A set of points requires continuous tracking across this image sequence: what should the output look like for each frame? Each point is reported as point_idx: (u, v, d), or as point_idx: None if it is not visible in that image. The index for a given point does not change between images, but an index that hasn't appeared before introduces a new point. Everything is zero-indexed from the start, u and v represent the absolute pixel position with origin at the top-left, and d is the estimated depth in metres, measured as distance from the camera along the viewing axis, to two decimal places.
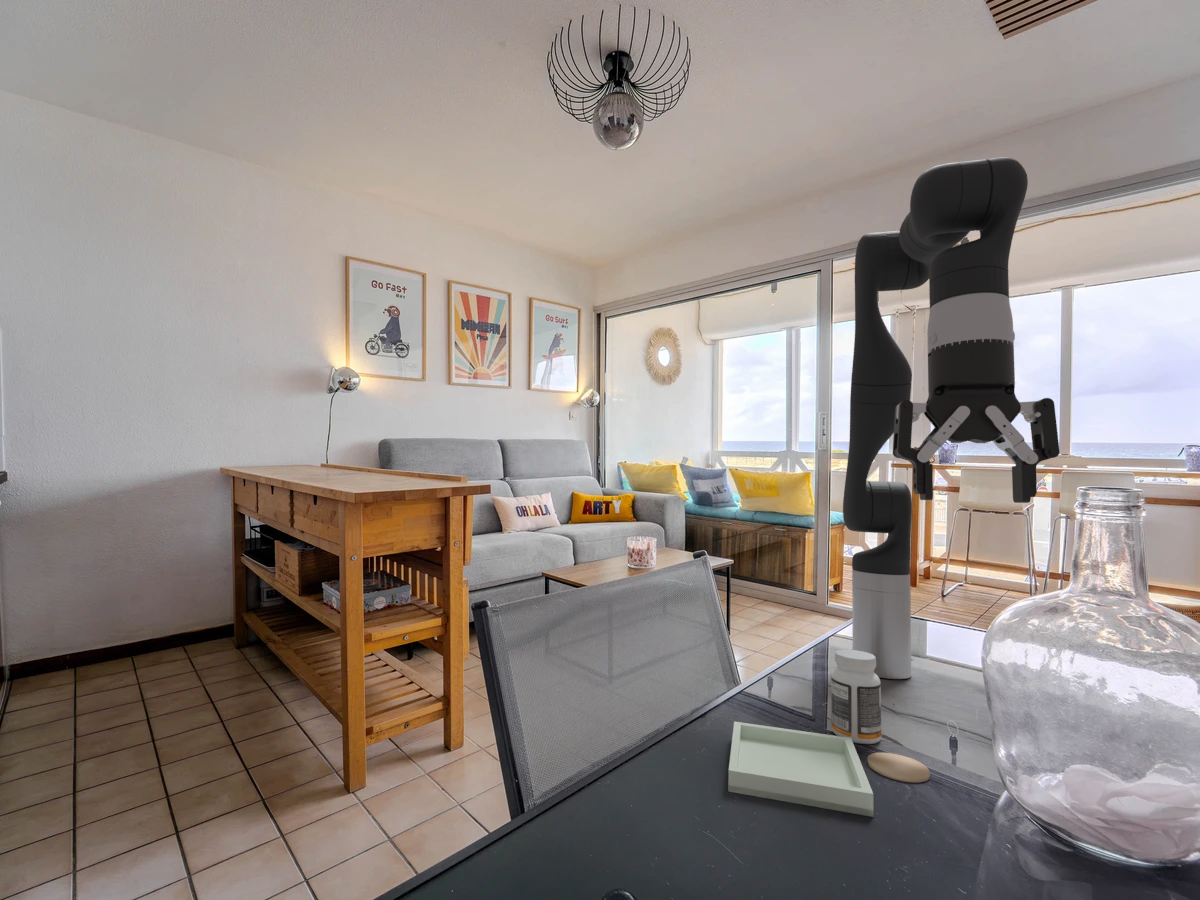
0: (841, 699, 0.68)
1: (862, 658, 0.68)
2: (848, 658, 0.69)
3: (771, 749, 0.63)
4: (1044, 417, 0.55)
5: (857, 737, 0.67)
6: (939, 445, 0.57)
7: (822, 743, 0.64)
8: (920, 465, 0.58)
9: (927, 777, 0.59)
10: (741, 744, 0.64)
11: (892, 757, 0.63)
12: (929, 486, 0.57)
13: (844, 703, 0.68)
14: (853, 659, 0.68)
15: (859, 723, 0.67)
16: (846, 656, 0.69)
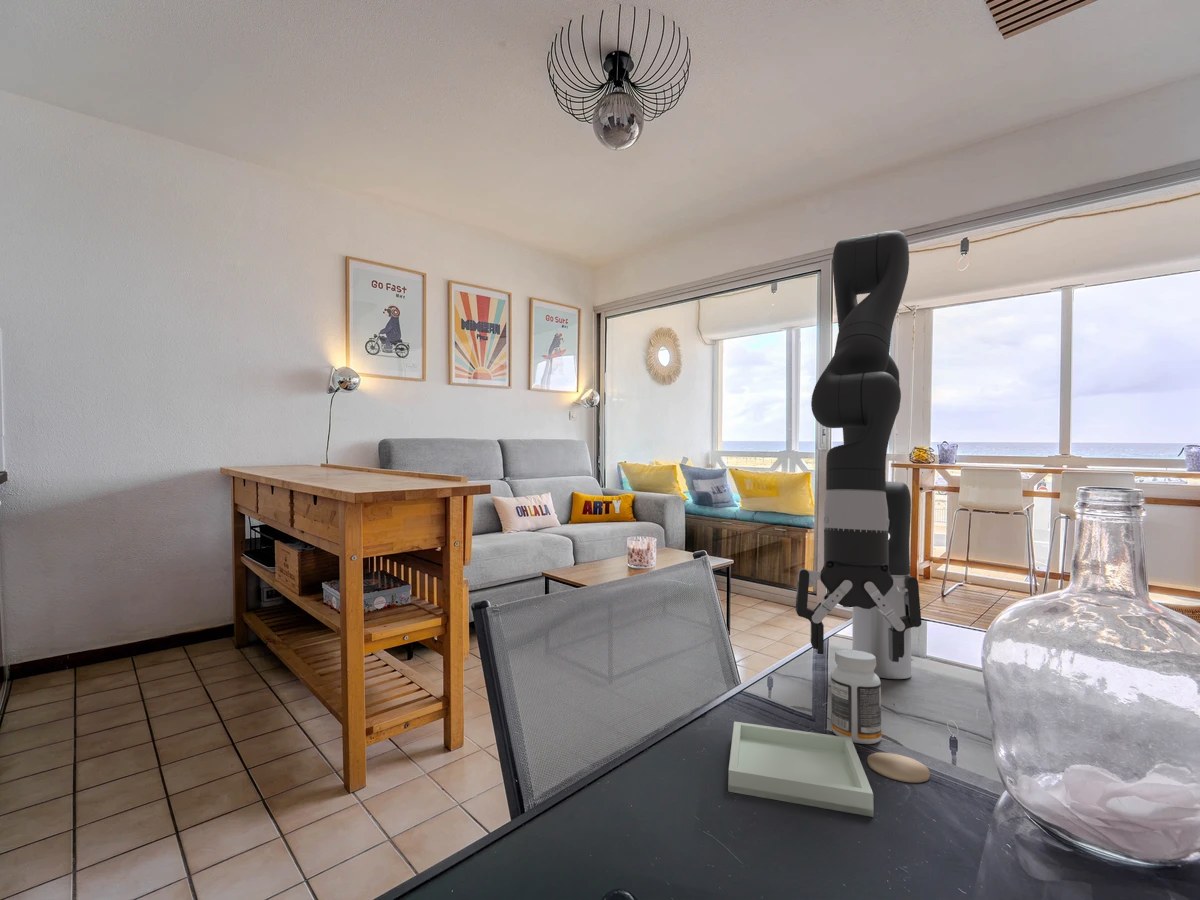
0: (841, 699, 0.68)
1: (862, 658, 0.68)
2: (848, 658, 0.69)
3: (771, 749, 0.63)
4: (910, 593, 0.68)
5: (857, 737, 0.67)
6: (828, 610, 0.70)
7: (822, 743, 0.64)
8: (814, 624, 0.71)
9: (927, 777, 0.59)
10: (741, 744, 0.64)
11: (892, 757, 0.63)
12: (820, 643, 0.70)
13: (844, 703, 0.68)
14: (853, 659, 0.68)
15: (859, 723, 0.67)
16: (846, 656, 0.69)
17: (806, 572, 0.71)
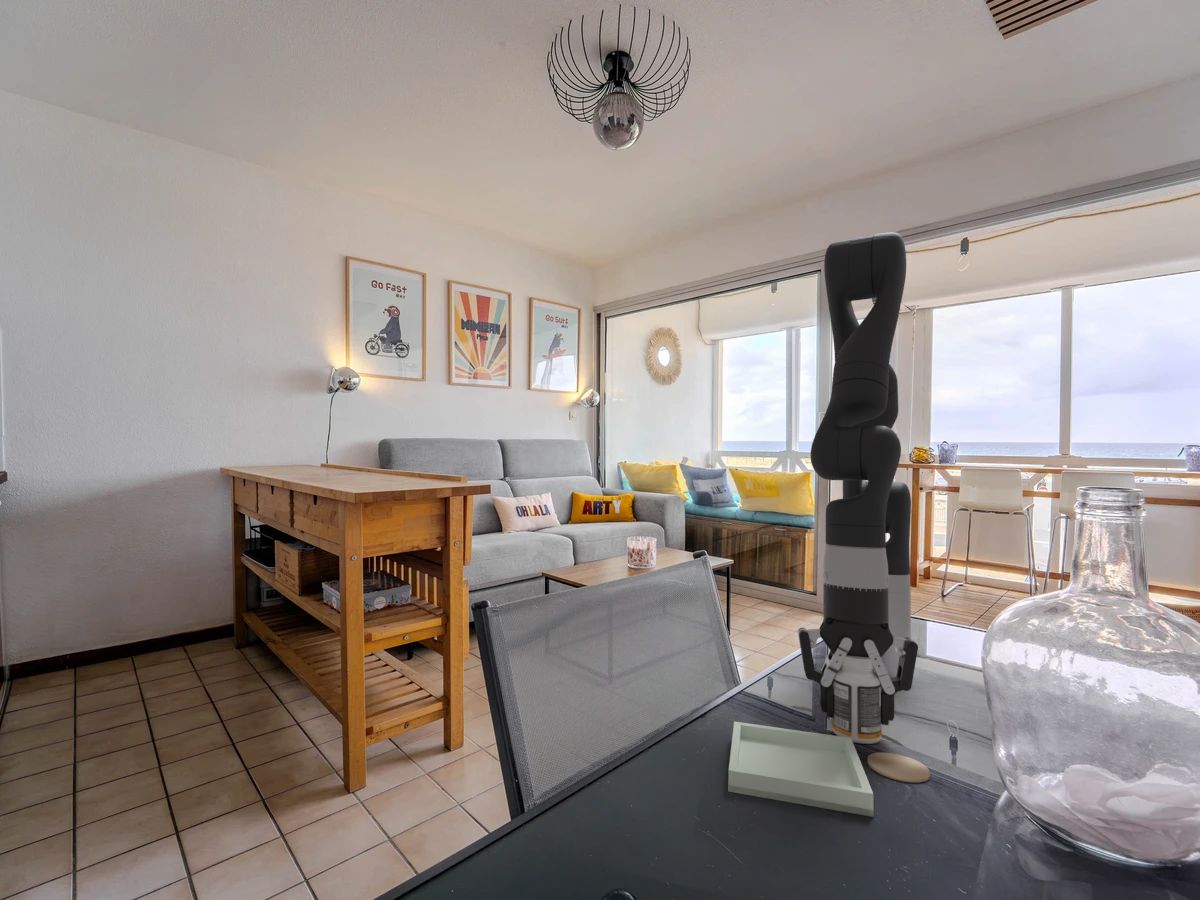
0: (841, 699, 0.68)
1: (862, 658, 0.68)
2: (848, 658, 0.69)
3: (771, 749, 0.63)
4: (907, 656, 0.68)
5: (857, 737, 0.67)
6: (835, 671, 0.69)
7: (822, 743, 0.64)
8: (823, 687, 0.70)
9: (927, 777, 0.59)
10: (741, 744, 0.64)
11: (892, 757, 0.63)
12: (830, 707, 0.69)
13: (844, 702, 0.68)
14: (853, 659, 0.68)
15: (859, 723, 0.67)
16: (846, 656, 0.69)
17: (805, 633, 0.71)
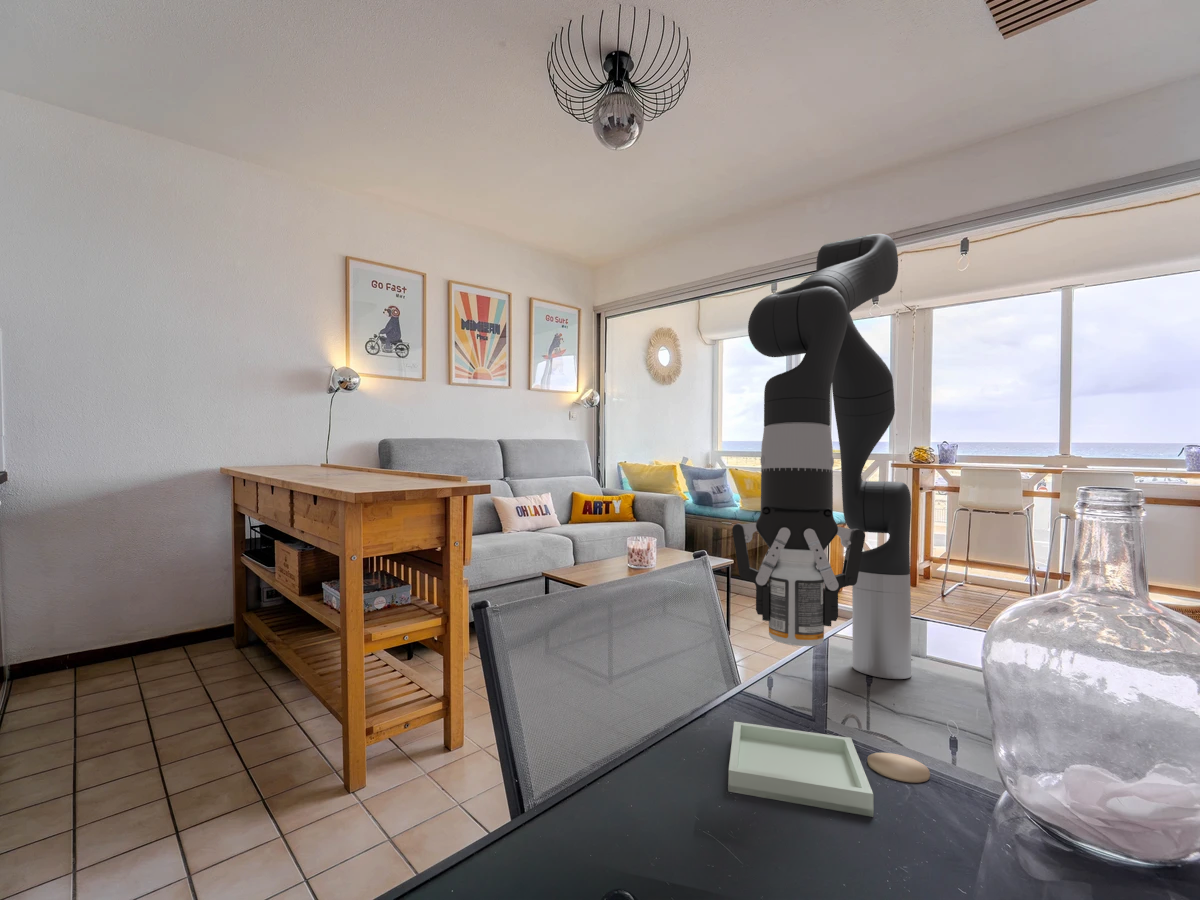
0: (777, 597, 0.59)
1: (802, 550, 0.59)
2: (786, 550, 0.60)
3: (771, 749, 0.63)
4: (853, 547, 0.59)
5: (794, 638, 0.58)
6: (772, 567, 0.60)
7: (822, 743, 0.64)
8: (759, 587, 0.61)
9: (927, 777, 0.59)
10: (741, 744, 0.64)
11: (892, 757, 0.63)
12: (766, 608, 0.61)
13: (781, 600, 0.59)
14: (791, 551, 0.59)
15: (796, 622, 0.58)
16: (784, 549, 0.60)
17: (739, 526, 0.62)
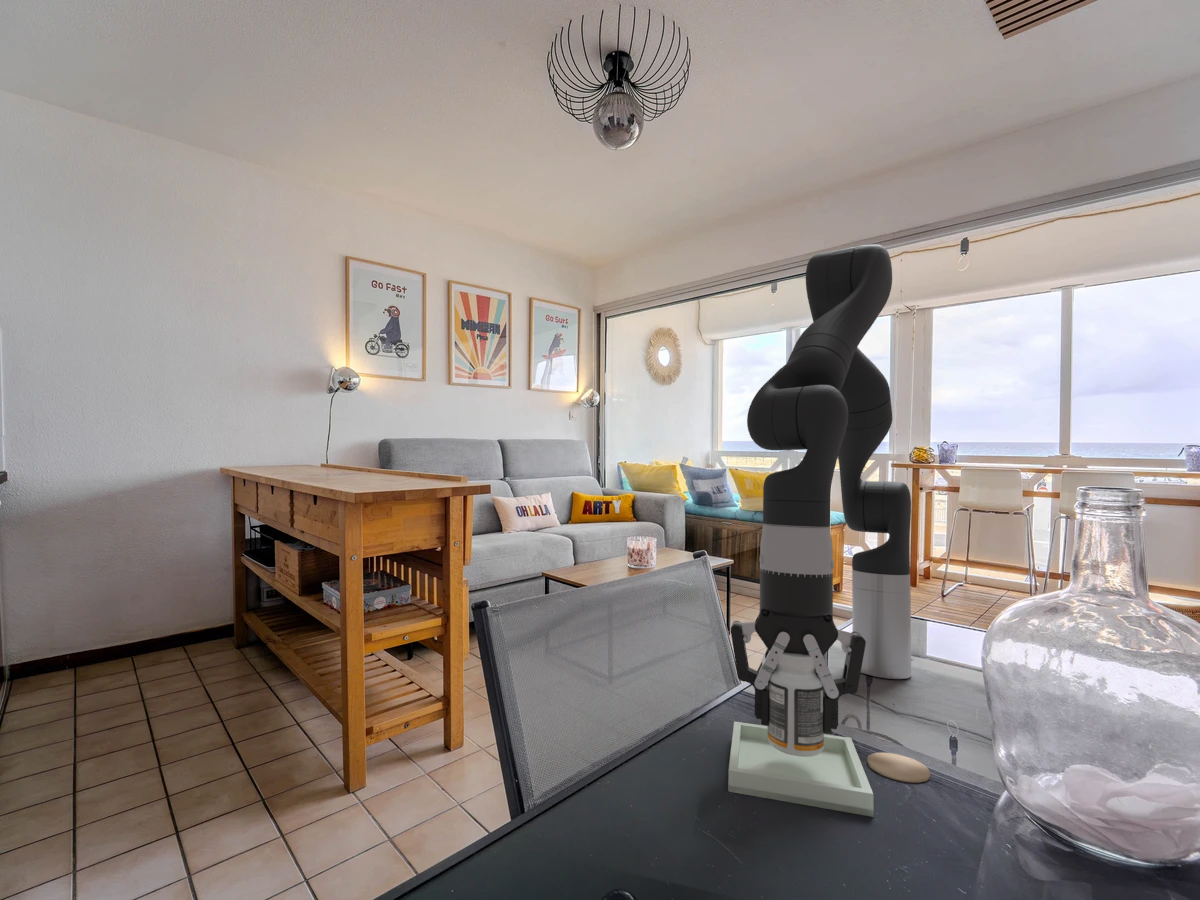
0: (776, 704, 0.58)
1: (801, 656, 0.58)
2: (785, 656, 0.59)
3: (771, 749, 0.63)
4: (853, 654, 0.58)
5: (794, 749, 0.57)
6: (771, 671, 0.59)
7: None
8: (758, 690, 0.60)
9: (927, 777, 0.59)
10: (741, 744, 0.64)
11: (892, 757, 0.63)
12: (765, 713, 0.59)
13: (780, 708, 0.58)
14: (791, 657, 0.58)
15: (796, 732, 0.57)
16: (783, 653, 0.59)
17: (737, 627, 0.61)
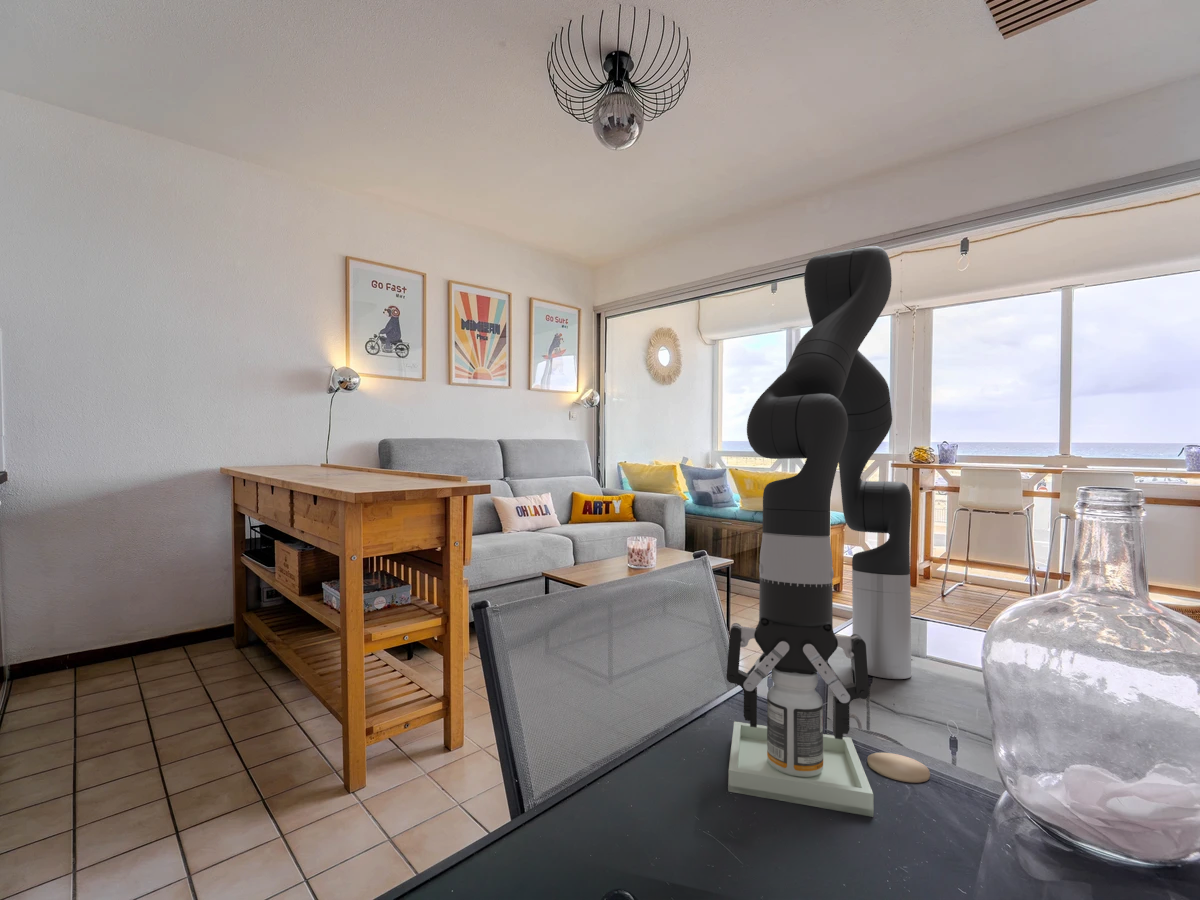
0: (776, 723, 0.58)
1: (801, 675, 0.58)
2: (784, 675, 0.58)
3: None
4: (857, 658, 0.58)
5: (793, 769, 0.57)
6: (762, 676, 0.60)
7: None
8: (747, 692, 0.60)
9: (927, 777, 0.59)
10: (741, 744, 0.64)
11: (892, 757, 0.63)
12: (753, 715, 0.60)
13: (779, 728, 0.58)
14: (790, 676, 0.58)
15: (795, 752, 0.57)
16: (783, 673, 0.59)
17: (737, 630, 0.61)
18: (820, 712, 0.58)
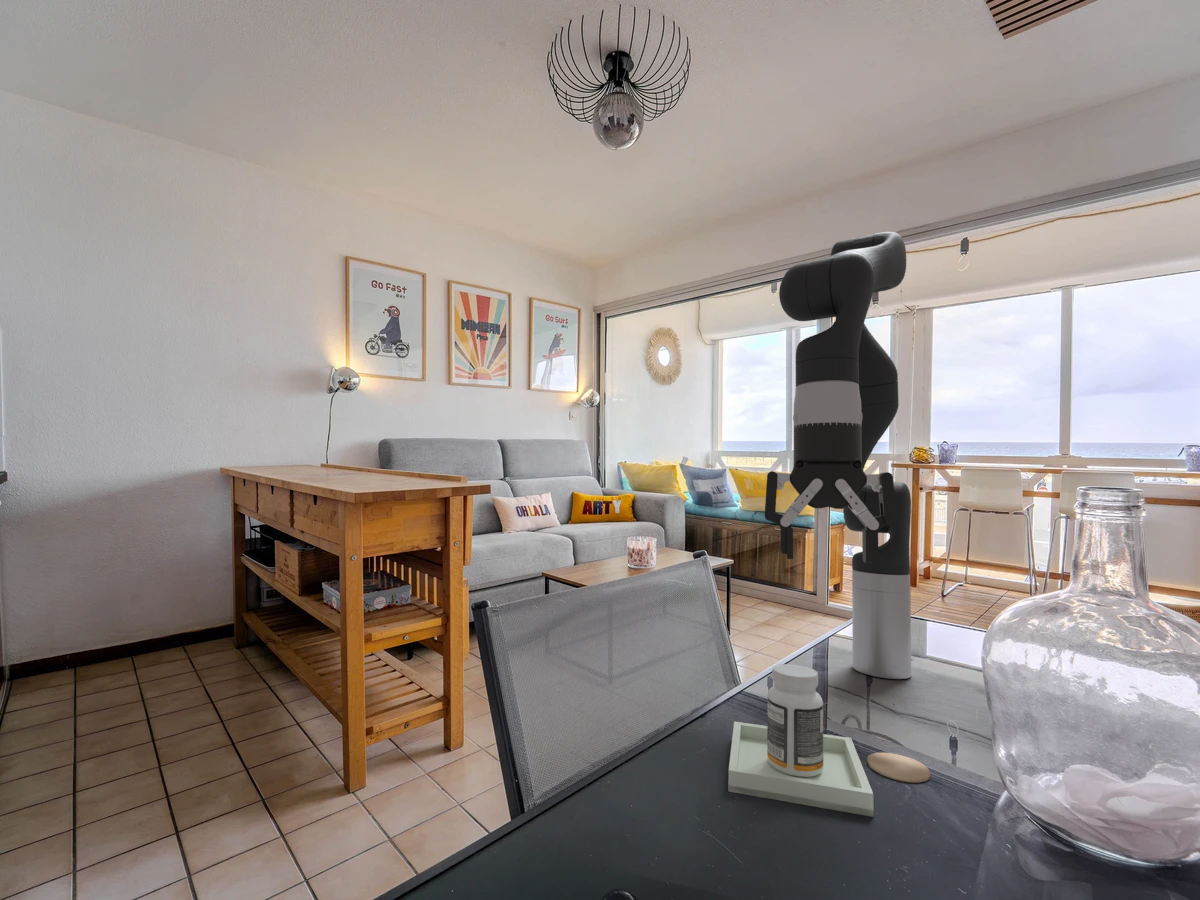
0: (776, 723, 0.58)
1: (801, 675, 0.58)
2: (785, 675, 0.58)
3: None
4: (884, 489, 0.63)
5: (793, 769, 0.57)
6: (798, 512, 0.66)
7: None
8: (783, 528, 0.67)
9: (927, 777, 0.59)
10: (741, 744, 0.64)
11: (892, 757, 0.63)
12: (790, 547, 0.66)
13: (779, 728, 0.58)
14: (790, 676, 0.58)
15: (795, 752, 0.57)
16: (783, 673, 0.59)
17: (774, 473, 0.67)
18: (820, 712, 0.58)
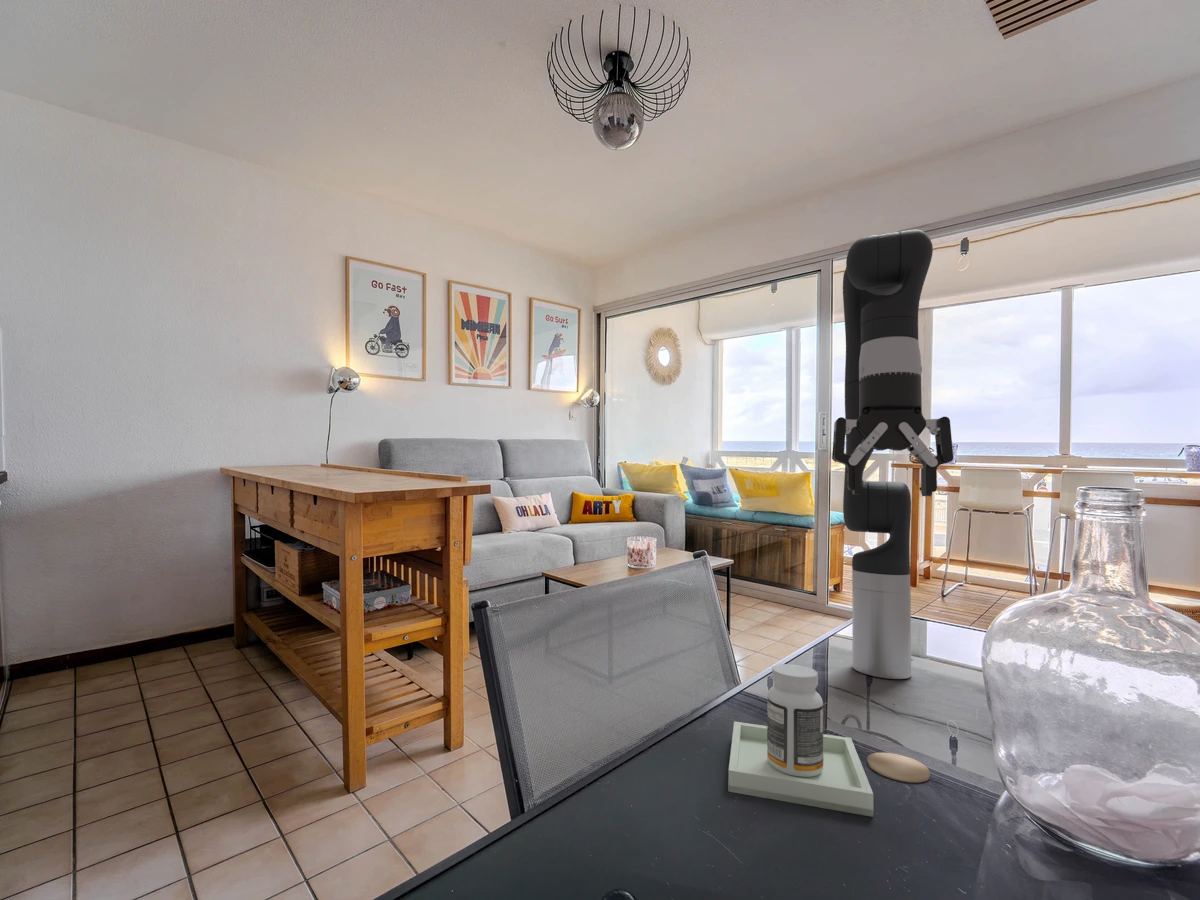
0: (776, 723, 0.58)
1: (801, 675, 0.58)
2: (785, 675, 0.58)
3: None
4: (942, 431, 0.73)
5: (793, 769, 0.57)
6: (865, 452, 0.75)
7: None
8: (851, 467, 0.76)
9: (927, 777, 0.59)
10: (741, 744, 0.64)
11: (892, 757, 0.63)
12: (857, 483, 0.75)
13: (779, 727, 0.58)
14: (790, 676, 0.58)
15: (795, 752, 0.57)
16: (783, 672, 0.59)
17: (843, 419, 0.76)
18: (820, 712, 0.58)
